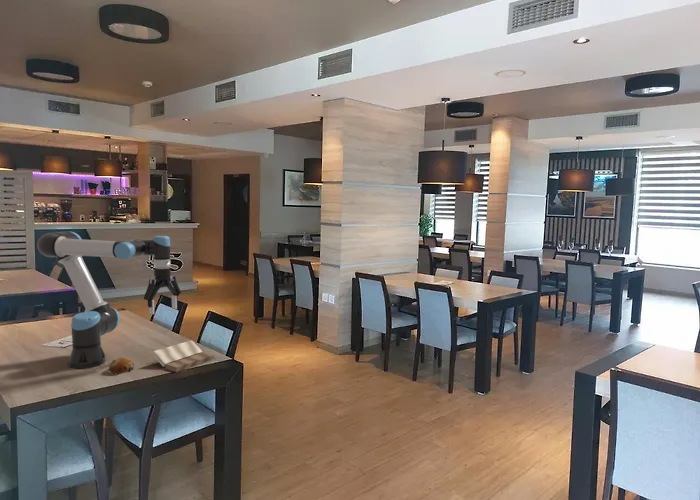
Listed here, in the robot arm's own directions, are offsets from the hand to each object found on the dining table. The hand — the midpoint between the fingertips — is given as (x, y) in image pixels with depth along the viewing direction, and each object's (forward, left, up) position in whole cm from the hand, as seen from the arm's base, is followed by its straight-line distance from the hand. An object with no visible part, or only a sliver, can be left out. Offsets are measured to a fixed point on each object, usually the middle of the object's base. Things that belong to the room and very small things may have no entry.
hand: (163, 311), depth 236 cm
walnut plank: (-1, -20, -23) cm, 30 cm away
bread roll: (-23, -1, -23) cm, 33 cm away
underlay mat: (-1, -14, -23) cm, 27 cm away
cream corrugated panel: (-1, -11, -19) cm, 22 cm away
